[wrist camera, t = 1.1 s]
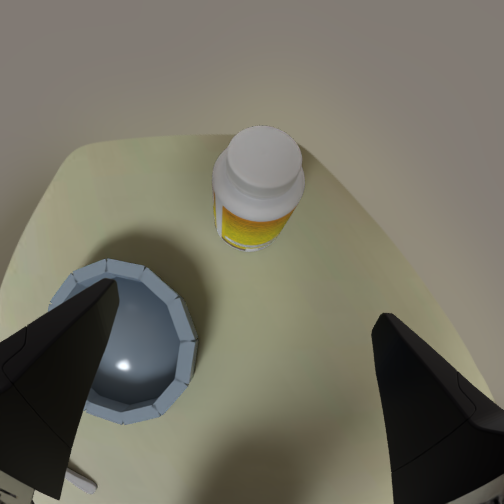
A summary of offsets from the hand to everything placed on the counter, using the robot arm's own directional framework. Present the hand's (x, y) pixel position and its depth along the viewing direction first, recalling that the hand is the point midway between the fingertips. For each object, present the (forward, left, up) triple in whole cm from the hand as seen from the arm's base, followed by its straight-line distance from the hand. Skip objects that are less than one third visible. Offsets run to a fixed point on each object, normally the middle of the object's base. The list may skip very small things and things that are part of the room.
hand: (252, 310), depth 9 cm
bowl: (+1, +9, -14) cm, 16 cm away
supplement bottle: (+7, -4, -14) cm, 16 cm away
